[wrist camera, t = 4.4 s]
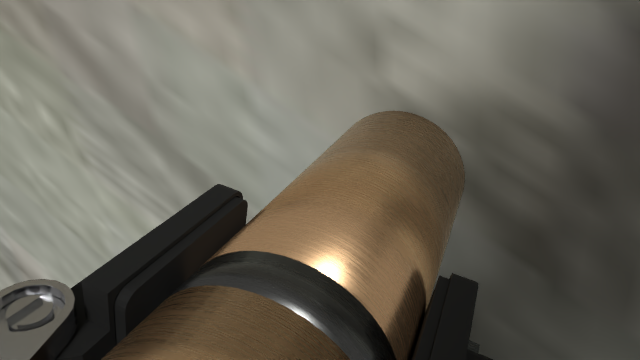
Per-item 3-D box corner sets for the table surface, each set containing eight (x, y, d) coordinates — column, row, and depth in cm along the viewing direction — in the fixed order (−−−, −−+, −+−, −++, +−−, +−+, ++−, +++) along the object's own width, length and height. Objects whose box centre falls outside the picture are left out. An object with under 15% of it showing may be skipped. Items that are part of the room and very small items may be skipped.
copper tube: (348, 94, 15) (-268, 548, 4) (484, 134, 14) (235, 1006, 2) (325, 207, 17) (-107, 722, 6) (441, 250, 16) (200, 1009, 5)
